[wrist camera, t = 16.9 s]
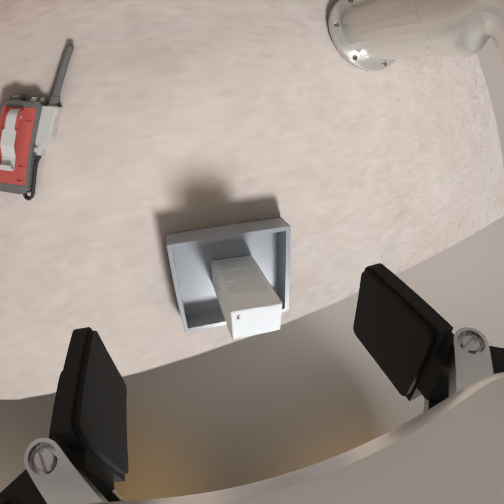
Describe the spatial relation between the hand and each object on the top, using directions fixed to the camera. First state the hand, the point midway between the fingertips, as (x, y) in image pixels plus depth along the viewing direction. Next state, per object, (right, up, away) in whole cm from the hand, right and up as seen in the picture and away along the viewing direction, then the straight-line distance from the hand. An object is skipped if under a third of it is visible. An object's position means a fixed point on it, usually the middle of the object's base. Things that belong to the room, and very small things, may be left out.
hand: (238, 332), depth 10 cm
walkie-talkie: (-27, +19, +17) cm, 37 cm away
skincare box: (-2, 0, +34) cm, 34 cm away
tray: (-3, 0, +34) cm, 34 cm away
